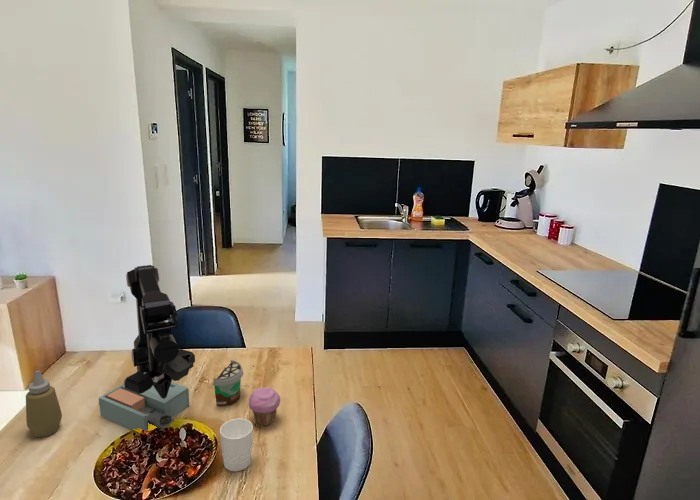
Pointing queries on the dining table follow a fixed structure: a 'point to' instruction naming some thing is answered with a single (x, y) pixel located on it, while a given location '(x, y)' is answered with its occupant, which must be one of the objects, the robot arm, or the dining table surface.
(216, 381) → the food container
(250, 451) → the white cup
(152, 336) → the robot arm
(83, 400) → the dining table surface
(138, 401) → the salmon orange rectangular block
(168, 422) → the lever
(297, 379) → the dining table surface
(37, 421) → the squeeze bottle
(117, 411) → the jig
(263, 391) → the cupcake
